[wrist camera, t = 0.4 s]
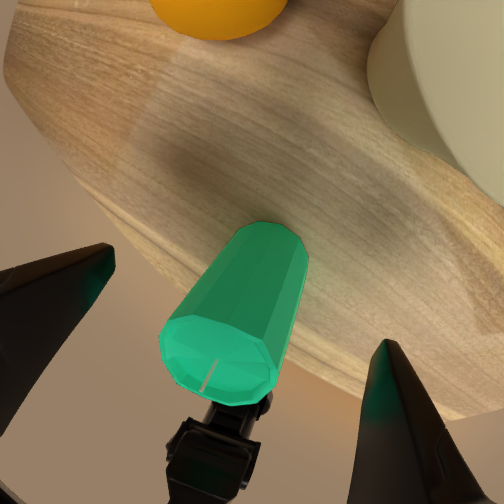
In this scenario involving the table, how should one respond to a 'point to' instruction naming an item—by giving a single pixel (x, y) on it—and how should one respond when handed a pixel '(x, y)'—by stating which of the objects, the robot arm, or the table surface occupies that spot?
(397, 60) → the can
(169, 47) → the table surface
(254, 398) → the candle
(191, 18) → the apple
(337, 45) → the table surface
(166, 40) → the table surface
